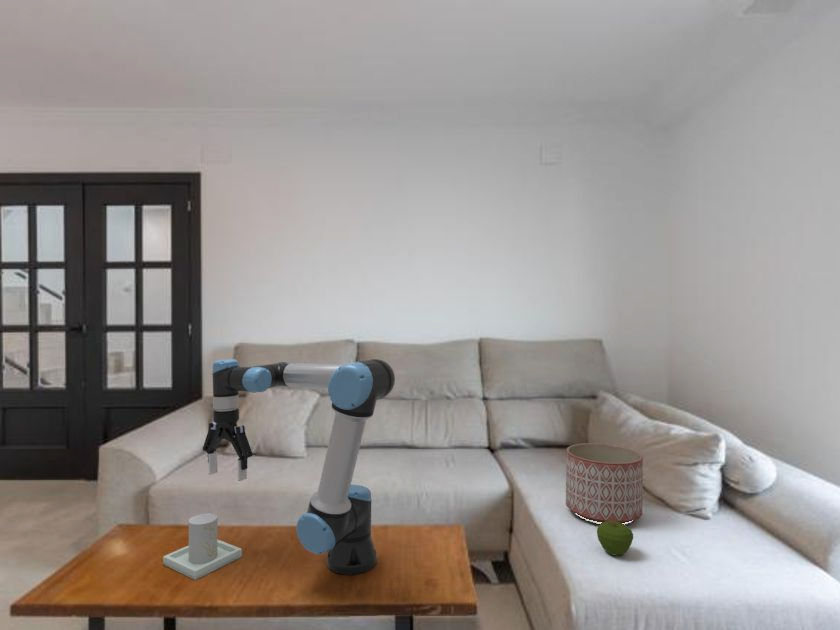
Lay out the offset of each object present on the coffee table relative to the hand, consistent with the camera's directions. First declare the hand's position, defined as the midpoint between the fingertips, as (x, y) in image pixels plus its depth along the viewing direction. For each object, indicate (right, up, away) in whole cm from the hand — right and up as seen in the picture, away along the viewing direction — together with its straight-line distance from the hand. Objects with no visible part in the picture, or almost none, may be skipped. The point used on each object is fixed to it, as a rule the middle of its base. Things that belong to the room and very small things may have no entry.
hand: (227, 476), depth 158 cm
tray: (-6, -25, -3) cm, 26 cm away
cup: (-6, -24, -3) cm, 25 cm away
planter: (+130, -26, +34) cm, 137 cm away
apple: (+123, -26, +3) cm, 126 cm away
